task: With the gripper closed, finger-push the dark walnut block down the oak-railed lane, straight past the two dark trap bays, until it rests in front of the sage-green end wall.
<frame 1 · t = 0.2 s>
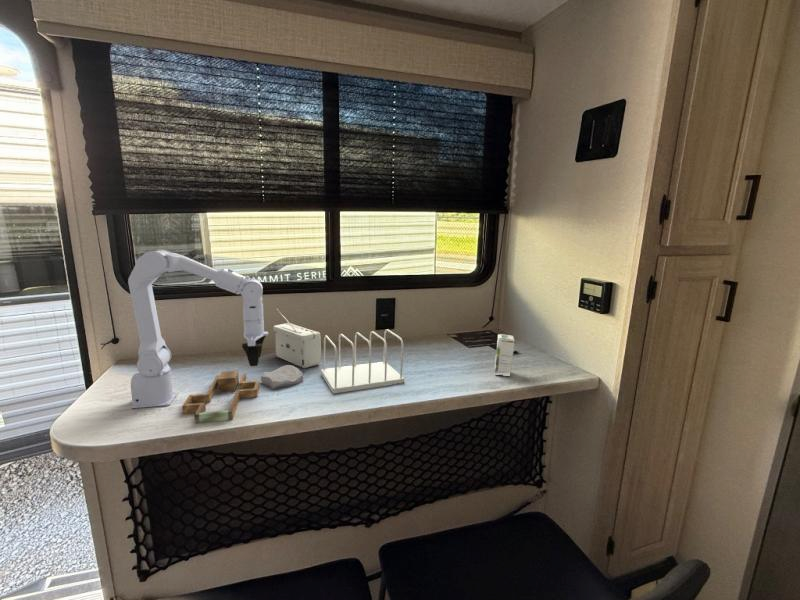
hand: (255, 361, 114), 10 cm above the worktop, fingers open, 7 cm apart
stone block: (284, 383, 123), on the worktop
file sorter: (361, 379, 128), on the worktop
trap lane: (224, 398, 110), on the worktop
syrup box: (502, 374, 136), on the worktop
walnut block: (229, 387, 118), resting in trap lane
stereo radio cassette player: (296, 361, 143), on the worktop
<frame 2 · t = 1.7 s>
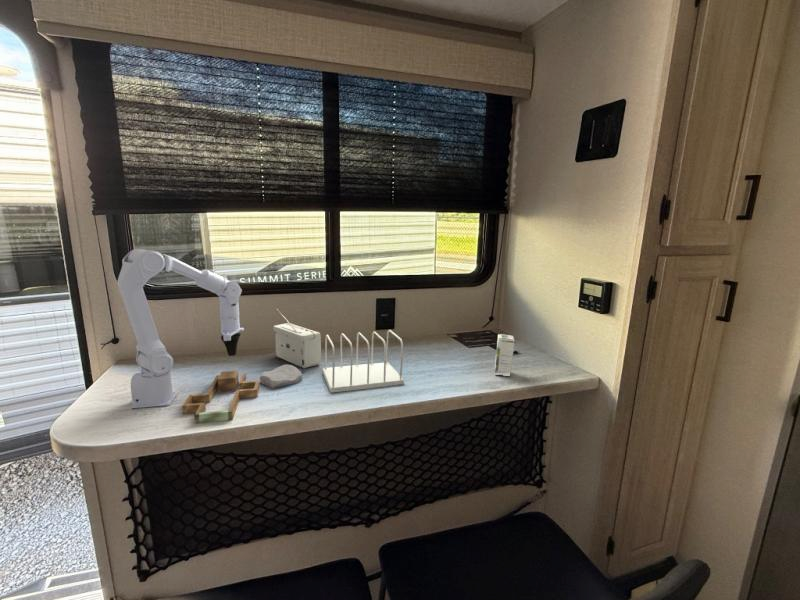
hand: (232, 355, 124), 8 cm above the worktop, fingers closed
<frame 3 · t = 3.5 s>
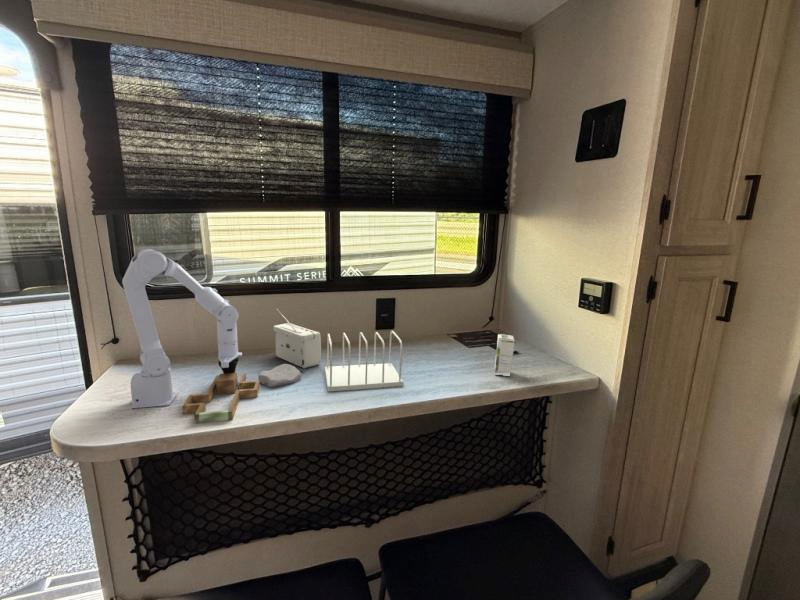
hand: (230, 380, 120), 1 cm above the worktop, fingers closed
walnut block: (227, 390, 116), resting in trap lane, touching gripper
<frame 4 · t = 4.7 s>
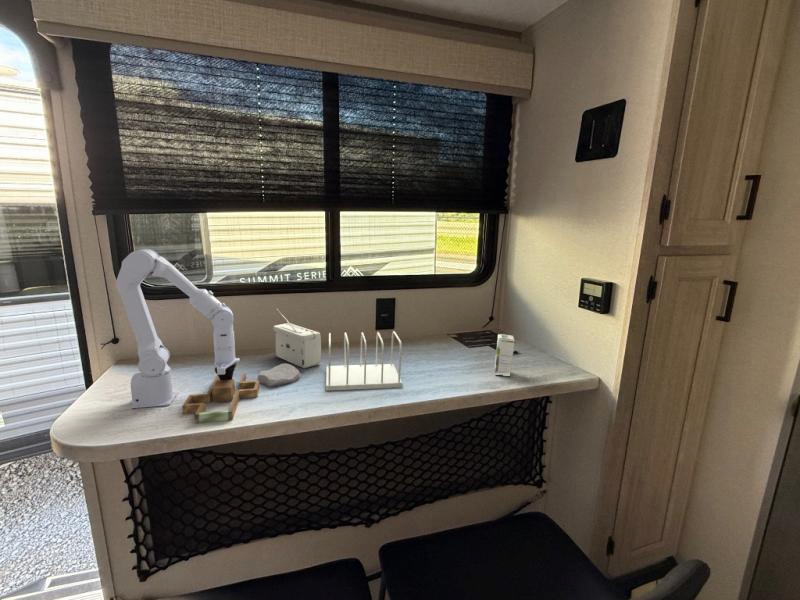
hand: (227, 387, 115), 1 cm above the worktop, fingers closed
walnut block: (224, 397, 111), resting in trap lane, touching gripper
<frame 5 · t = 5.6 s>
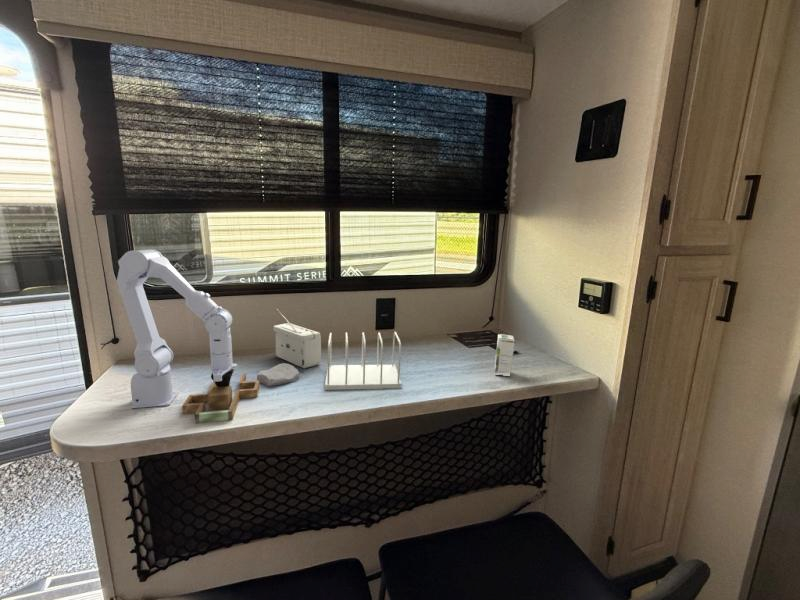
hand: (224, 394, 110), 1 cm above the worktop, fingers closed
walnut block: (221, 405, 106), resting in trap lane, touching gripper
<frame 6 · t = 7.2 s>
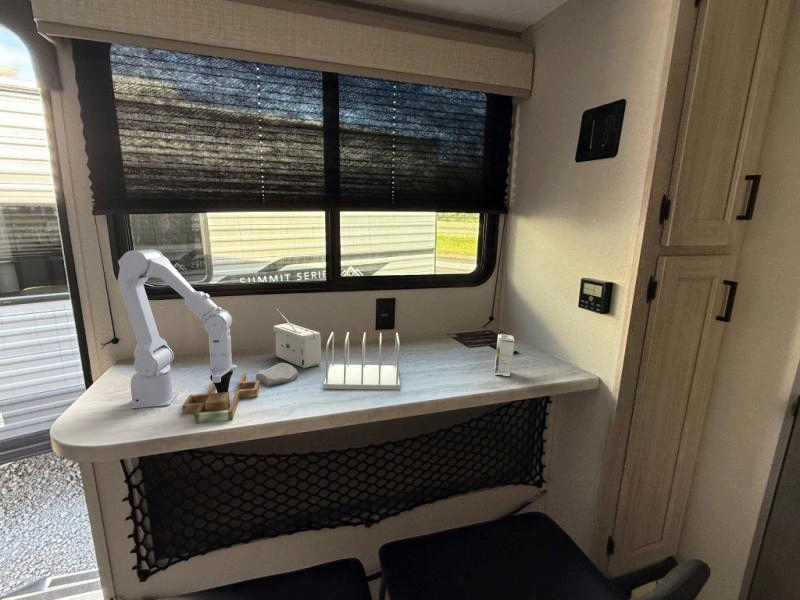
hand: (223, 395, 109), 1 cm above the worktop, fingers closed
walnut block: (218, 412, 102), resting in trap lane
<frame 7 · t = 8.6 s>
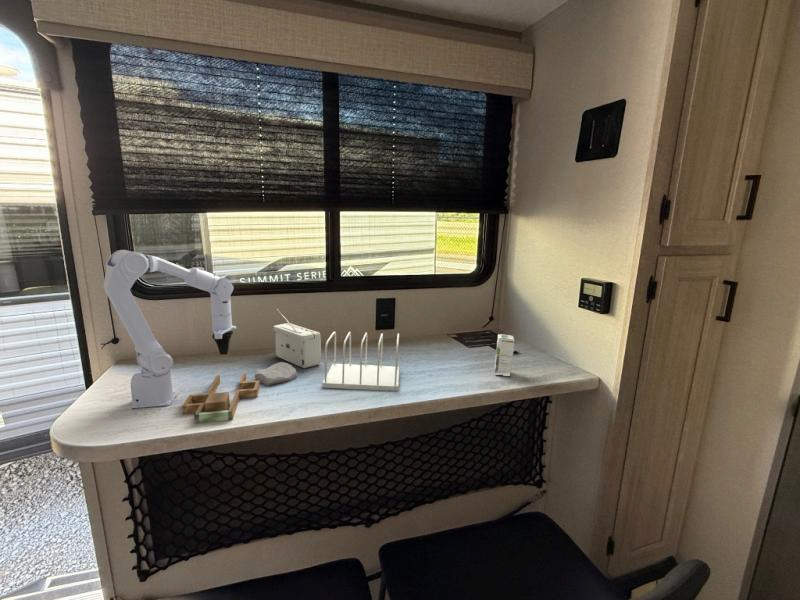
hand: (224, 353, 121), 9 cm above the worktop, fingers closed
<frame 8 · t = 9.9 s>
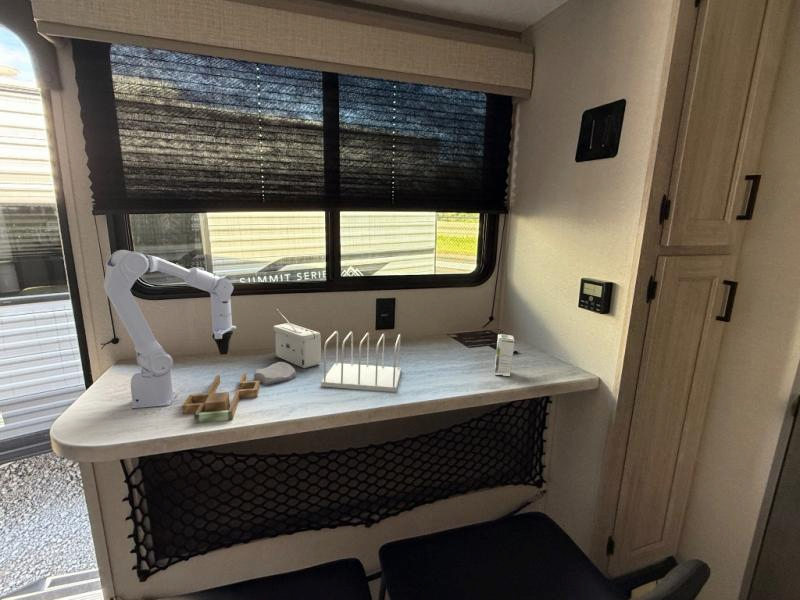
hand: (224, 353, 121), 9 cm above the worktop, fingers closed
at the end: walnut block 0.2 cm from the target spot, resting in trap lane; walnut block tilted 0° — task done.
